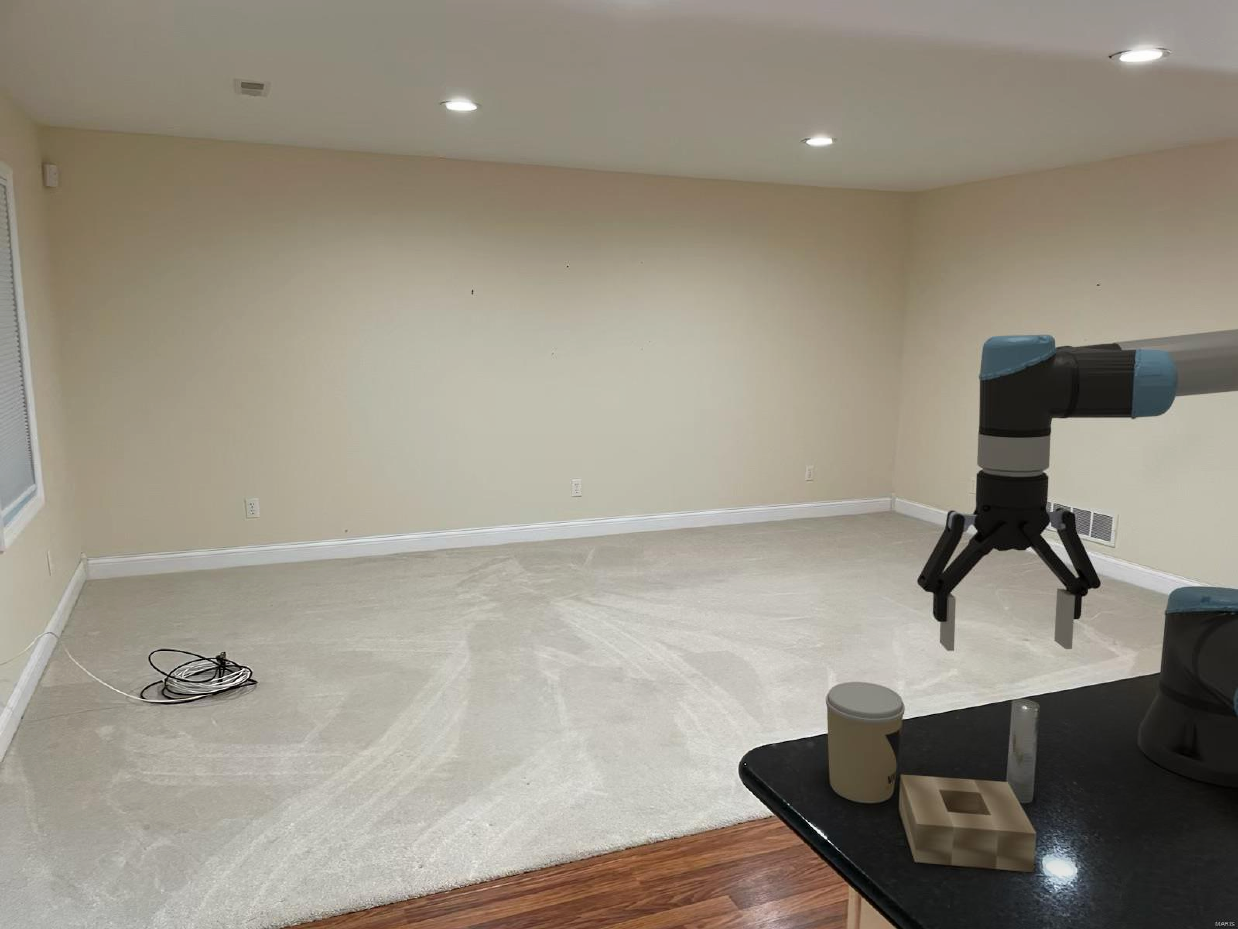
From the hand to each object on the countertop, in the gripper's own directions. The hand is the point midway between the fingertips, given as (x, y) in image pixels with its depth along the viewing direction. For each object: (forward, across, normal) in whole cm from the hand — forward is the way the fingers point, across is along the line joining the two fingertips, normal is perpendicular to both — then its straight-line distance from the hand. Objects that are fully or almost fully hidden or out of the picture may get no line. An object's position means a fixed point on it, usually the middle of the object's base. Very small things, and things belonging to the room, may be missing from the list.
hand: (1004, 646), depth 99 cm
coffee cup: (+19, +16, -2) cm, 25 cm away
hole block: (+19, +8, +9) cm, 23 cm away
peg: (+19, -2, 0) cm, 19 cm away
